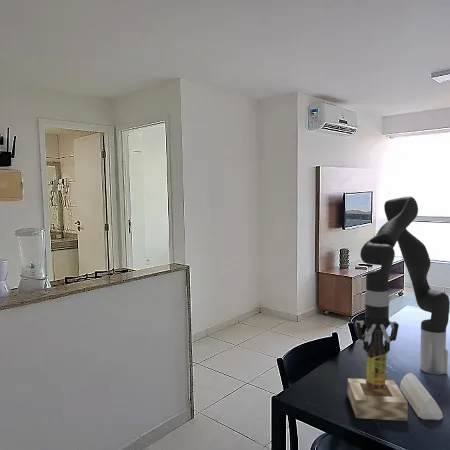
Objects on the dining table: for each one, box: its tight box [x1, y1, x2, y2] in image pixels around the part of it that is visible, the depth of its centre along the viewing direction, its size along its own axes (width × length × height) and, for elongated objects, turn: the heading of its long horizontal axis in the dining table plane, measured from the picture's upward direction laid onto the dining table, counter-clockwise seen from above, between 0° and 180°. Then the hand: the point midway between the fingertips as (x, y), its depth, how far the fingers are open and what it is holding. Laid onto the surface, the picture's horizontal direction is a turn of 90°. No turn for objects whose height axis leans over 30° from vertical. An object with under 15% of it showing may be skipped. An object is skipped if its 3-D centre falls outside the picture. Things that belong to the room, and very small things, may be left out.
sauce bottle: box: [365, 330, 387, 389], centre depth 137 cm, size 7×6×20 cm
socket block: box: [347, 378, 409, 422], centre depth 138 cm, size 16×16×6 cm
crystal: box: [399, 371, 444, 421], centre depth 140 cm, size 7×7×24 cm
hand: (376, 351), depth 137 cm, fingers closed on sauce bottle, 5 cm apart
